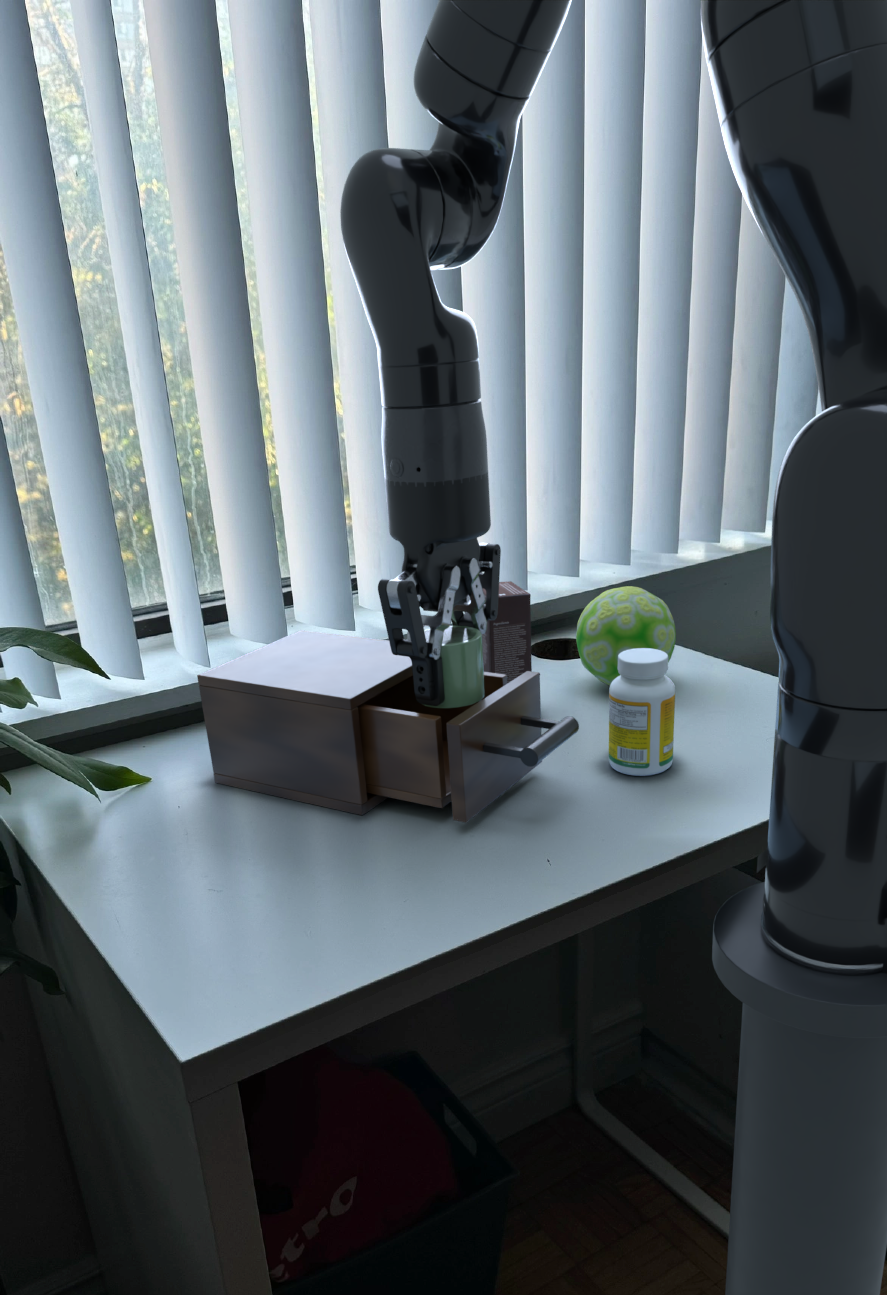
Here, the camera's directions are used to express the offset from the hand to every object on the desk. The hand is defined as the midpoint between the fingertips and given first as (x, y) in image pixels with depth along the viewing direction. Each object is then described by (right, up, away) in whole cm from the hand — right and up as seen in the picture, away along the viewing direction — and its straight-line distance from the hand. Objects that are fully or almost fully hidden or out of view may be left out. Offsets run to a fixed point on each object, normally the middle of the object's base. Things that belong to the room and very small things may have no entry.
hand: (451, 690), depth 85 cm
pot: (0, 0, 0) cm, 1 cm away
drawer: (0, -7, +3) cm, 8 cm away
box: (+5, 0, +20) cm, 21 cm away
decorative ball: (+18, +3, +25) cm, 30 cm away
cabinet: (-10, -6, +10) cm, 15 cm away
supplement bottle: (+16, -6, +6) cm, 18 cm away
